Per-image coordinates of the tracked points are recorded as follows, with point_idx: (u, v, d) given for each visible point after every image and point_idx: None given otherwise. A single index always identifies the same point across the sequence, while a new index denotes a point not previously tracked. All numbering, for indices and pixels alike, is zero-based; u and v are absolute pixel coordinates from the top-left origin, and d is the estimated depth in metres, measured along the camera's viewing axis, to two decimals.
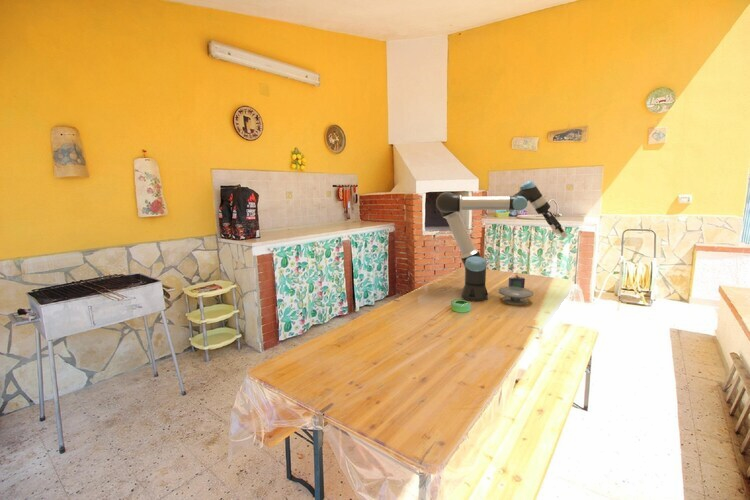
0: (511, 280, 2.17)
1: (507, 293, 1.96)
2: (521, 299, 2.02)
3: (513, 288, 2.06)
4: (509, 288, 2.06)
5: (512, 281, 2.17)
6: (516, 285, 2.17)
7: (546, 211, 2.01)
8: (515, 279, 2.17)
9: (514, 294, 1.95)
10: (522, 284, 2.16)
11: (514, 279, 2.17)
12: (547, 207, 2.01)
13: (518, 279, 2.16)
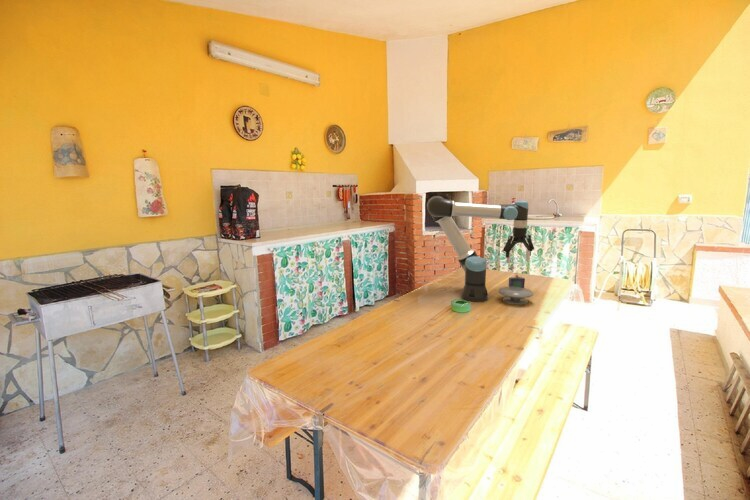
0: (511, 280, 2.17)
1: (507, 293, 1.96)
2: (521, 299, 2.02)
3: (513, 288, 2.06)
4: (509, 288, 2.06)
5: (512, 281, 2.17)
6: (516, 285, 2.17)
7: (514, 234, 2.11)
8: (515, 279, 2.17)
9: (514, 294, 1.95)
10: (522, 284, 2.16)
11: (514, 279, 2.17)
12: (517, 232, 2.09)
13: (518, 279, 2.16)
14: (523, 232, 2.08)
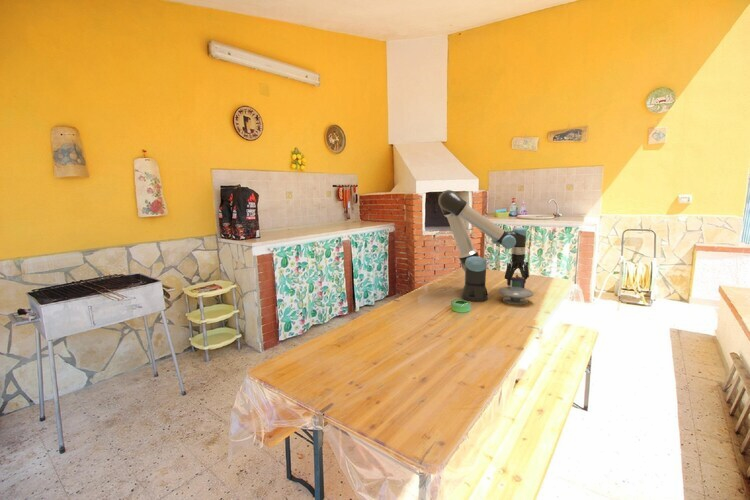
0: None
1: (507, 293, 1.96)
2: (521, 299, 2.02)
3: (513, 288, 2.06)
4: (509, 288, 2.06)
5: (512, 281, 2.17)
6: (516, 285, 2.17)
7: (512, 260, 2.14)
8: (515, 279, 2.17)
9: (514, 294, 1.95)
10: (522, 284, 2.16)
11: (514, 279, 2.17)
12: (515, 259, 2.13)
13: (518, 279, 2.16)
14: (521, 259, 2.11)
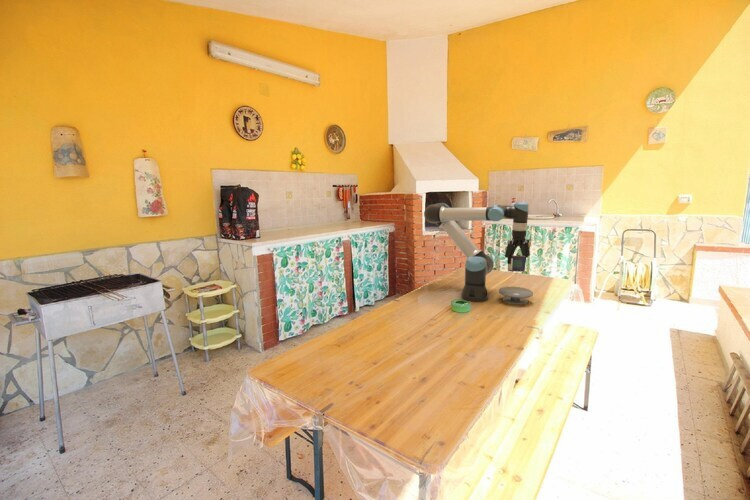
0: (512, 258, 2.05)
1: (507, 293, 1.96)
2: (521, 299, 2.02)
3: (513, 288, 2.06)
4: (509, 288, 2.06)
5: (513, 260, 2.05)
6: (517, 264, 2.05)
7: (513, 237, 2.02)
8: (516, 257, 2.04)
9: (514, 294, 1.95)
10: (523, 263, 2.04)
11: (515, 257, 2.05)
12: (516, 235, 2.00)
13: (519, 257, 2.04)
14: (523, 235, 1.99)
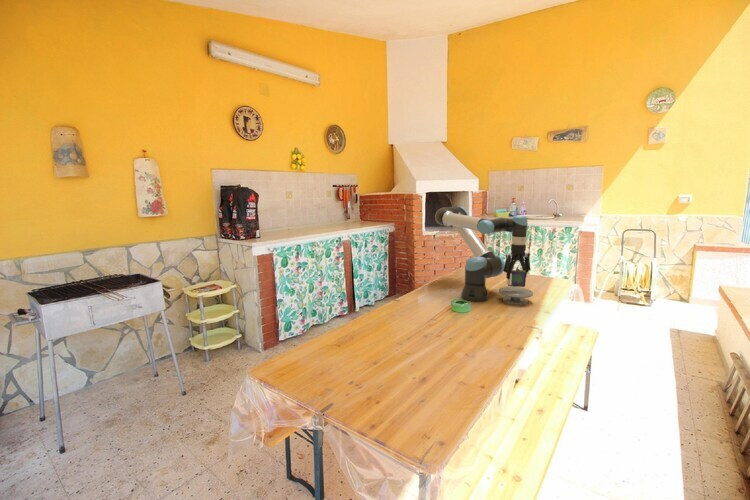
0: None
1: (507, 293, 1.96)
2: (521, 299, 2.02)
3: (513, 288, 2.06)
4: (509, 288, 2.06)
5: (512, 274, 1.98)
6: (516, 279, 1.98)
7: (512, 251, 1.95)
8: (515, 272, 1.98)
9: (514, 294, 1.95)
10: (523, 278, 1.97)
11: (514, 272, 1.98)
12: (515, 250, 1.93)
13: (519, 272, 1.97)
14: (522, 249, 1.92)
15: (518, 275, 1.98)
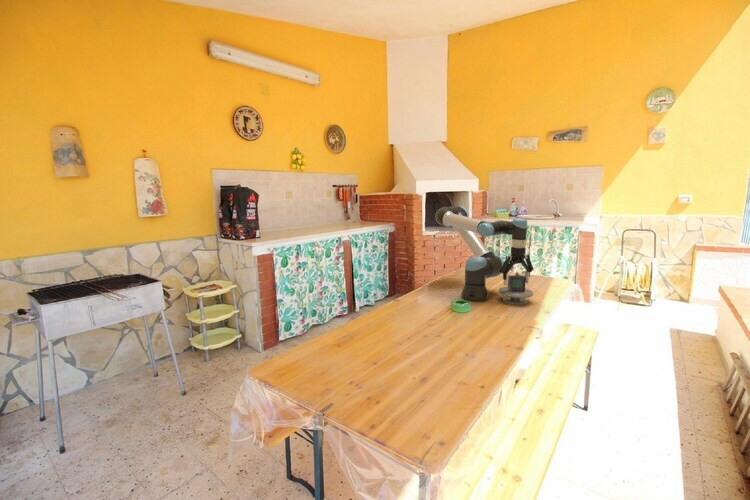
0: (511, 278, 1.99)
1: (507, 293, 1.96)
2: (521, 299, 2.02)
3: None
4: None
5: (512, 280, 1.99)
6: (516, 284, 1.99)
7: (512, 254, 1.95)
8: (515, 277, 1.98)
9: (514, 294, 1.95)
10: (523, 283, 1.98)
11: (514, 277, 1.98)
12: (515, 253, 1.94)
13: (518, 277, 1.98)
14: (522, 252, 1.93)
15: (518, 280, 1.98)
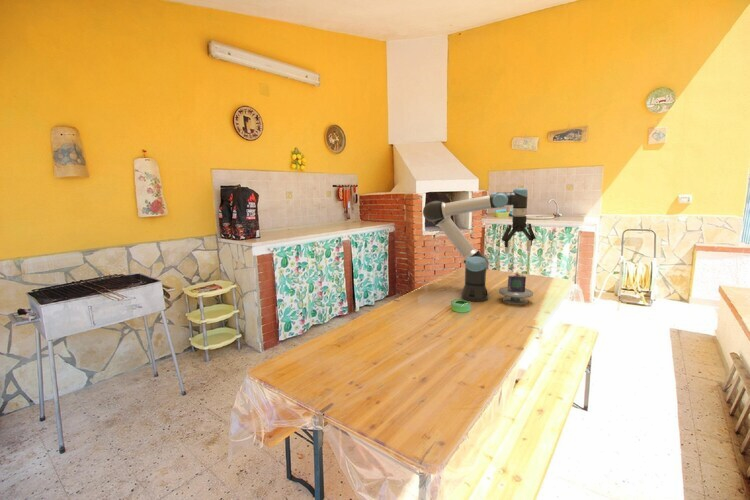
0: (511, 278, 1.99)
1: (507, 293, 1.96)
2: (521, 299, 2.02)
3: None
4: None
5: (512, 280, 1.99)
6: (516, 284, 1.99)
7: (513, 223, 2.04)
8: (515, 277, 1.98)
9: (514, 294, 1.95)
10: (523, 283, 1.98)
11: (514, 277, 1.98)
12: (515, 221, 2.03)
13: (518, 277, 1.98)
14: (522, 220, 2.01)
15: (518, 280, 1.98)
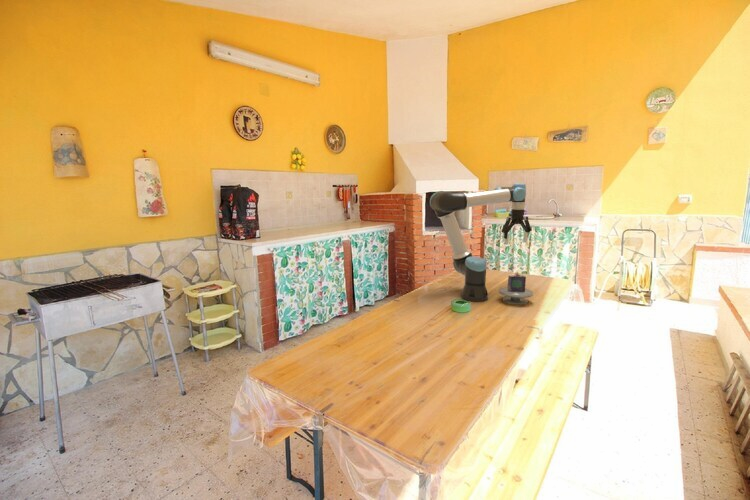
0: (511, 278, 1.99)
1: (507, 293, 1.96)
2: (521, 299, 2.02)
3: None
4: None
5: (512, 280, 1.99)
6: (516, 284, 1.99)
7: (512, 216, 2.18)
8: (515, 277, 1.98)
9: (514, 294, 1.95)
10: (523, 283, 1.98)
11: (514, 277, 1.98)
12: (515, 214, 2.16)
13: (518, 277, 1.98)
14: (521, 213, 2.15)
15: (518, 280, 1.98)
